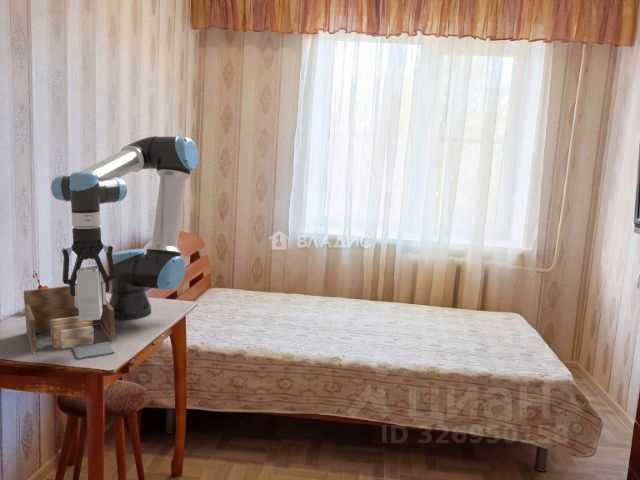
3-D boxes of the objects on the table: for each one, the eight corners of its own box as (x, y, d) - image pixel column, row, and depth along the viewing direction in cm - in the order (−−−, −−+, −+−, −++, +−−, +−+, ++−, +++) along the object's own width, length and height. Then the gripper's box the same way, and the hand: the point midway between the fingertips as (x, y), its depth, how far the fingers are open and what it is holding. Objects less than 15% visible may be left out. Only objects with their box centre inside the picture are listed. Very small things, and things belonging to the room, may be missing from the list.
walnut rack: (102, 322, 200) (100, 282, 198) (115, 340, 183) (113, 296, 181) (26, 332, 189) (23, 290, 187) (32, 352, 171) (28, 306, 169)
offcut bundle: (93, 338, 184) (91, 314, 183) (95, 343, 180) (94, 317, 179) (51, 345, 178) (49, 319, 177) (53, 349, 174) (51, 323, 173)
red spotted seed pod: (49, 313, 210) (47, 272, 208) (30, 313, 210) (27, 272, 208) (58, 307, 218) (56, 268, 216) (39, 307, 218) (36, 268, 215)
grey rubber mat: (107, 343, 180) (107, 341, 180) (114, 353, 171) (114, 351, 171) (72, 348, 175) (72, 347, 175) (77, 359, 166) (77, 357, 166)
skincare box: (82, 313, 174) (78, 264, 172) (103, 311, 176) (100, 263, 174) (79, 321, 167) (74, 270, 164) (101, 319, 168) (97, 269, 166)
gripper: (50, 230, 159) (55, 312, 163) (124, 226, 169) (128, 303, 172) (47, 227, 165) (52, 306, 169) (119, 223, 175) (122, 297, 179)
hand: (90, 304), depth 171 cm, fingers closed on skincare box, 7 cm apart
